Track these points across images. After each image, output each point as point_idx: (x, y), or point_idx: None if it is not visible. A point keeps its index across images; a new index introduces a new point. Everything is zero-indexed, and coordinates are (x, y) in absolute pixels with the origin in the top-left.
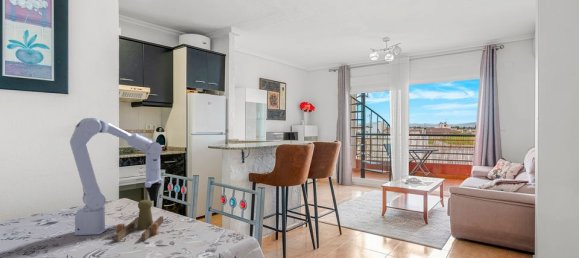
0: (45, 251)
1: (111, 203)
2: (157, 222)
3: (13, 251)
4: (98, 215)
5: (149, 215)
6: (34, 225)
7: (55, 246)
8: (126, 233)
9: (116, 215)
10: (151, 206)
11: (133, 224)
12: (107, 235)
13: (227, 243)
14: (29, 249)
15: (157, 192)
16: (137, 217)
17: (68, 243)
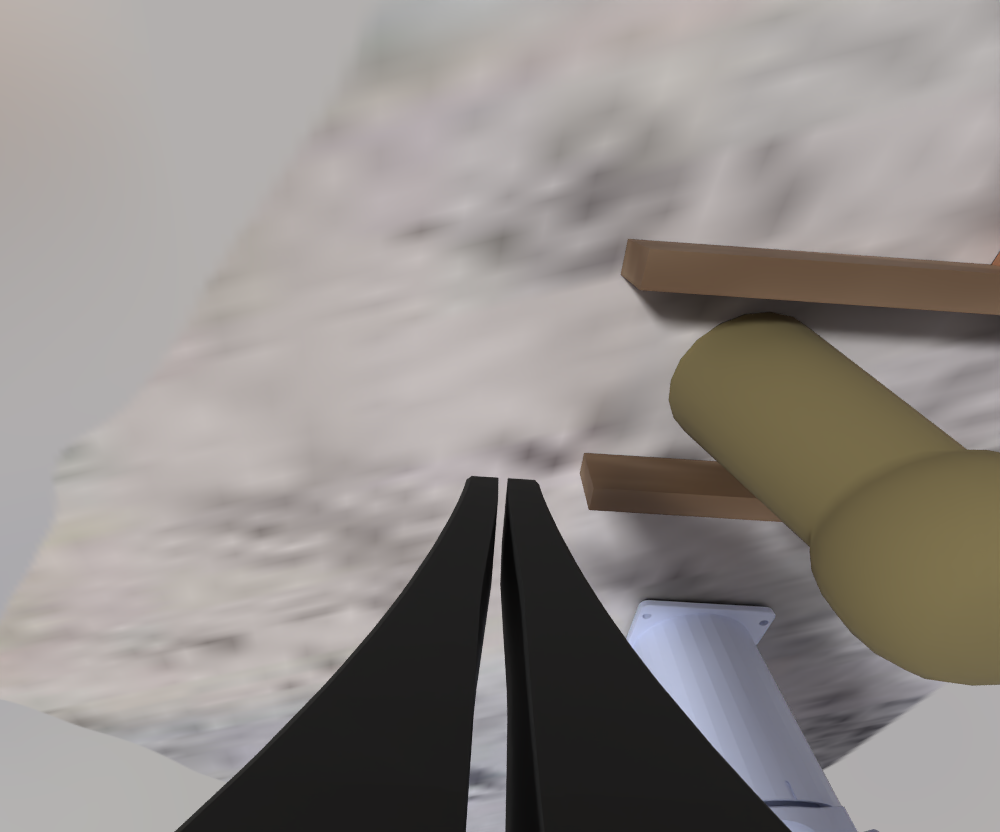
0: (905, 703)
1: (96, 703)
2: (889, 265)
3: (824, 763)
4: (812, 754)
5: (901, 399)
6: (501, 799)
7: (854, 695)
8: None
9: (359, 628)
10: (995, 452)
11: None
12: (809, 569)
13: None
14: (833, 741)
15: (481, 595)
16: (601, 508)
17: (841, 672)
